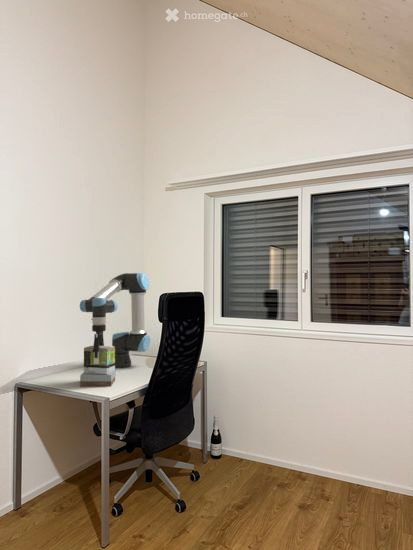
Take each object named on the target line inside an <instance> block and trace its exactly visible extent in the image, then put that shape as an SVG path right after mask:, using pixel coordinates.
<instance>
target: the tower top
mask: <svg viewBox="0 0 413 550" xmlns="http://www.w3.org/2000/svg"><path fill="white" fill-rule="evenodd" d="M116 374H117V373H116V369H115V371H114V372H112V373H109V374H93V373H84V371H83V372H82V373H81V374H80V375H79V377H80V379H79V380H80V381H79V383H80V382H85V381H112V379H113V378H114V377H115V378H116Z"/></svg>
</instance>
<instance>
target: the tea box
mask: <svg viewBox="0 0 413 550" xmlns="http://www.w3.org/2000/svg"><path fill="white" fill-rule="evenodd" d="M93 347H94V345H89V346H86V347H83V372H84V373H93V374H109V373H112V372H114V371H115V370H116V367H115V346H112V345H104V346H99V364H94V352H92V351H93Z"/></svg>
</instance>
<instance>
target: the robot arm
mask: <svg viewBox="0 0 413 550" xmlns="http://www.w3.org/2000/svg"><path fill="white" fill-rule="evenodd" d="M149 289H150V281H149V277H148V276H147V274H145V273H142V272H141V273H140V272H138V273H137V272H133V273H132V272H131V273H129V272H128V273H127V272H126V273H125V272H124V273H120V274H119V275H117V276H115V277H113V278H111V280H110V281H109V282H108V284H107V285H105V286H104V287H103V288H101V289H99V291H98V292H96V293H95V294H93V296H91V297H90V298H88V299H82V300H81V301H80V303H79V309H80V311H81V312H83V313H92V315H91V316H92V318H91V319H90V320H91V321H92V322H91V323H92V325H91V330H92V332H95V334H94V336H93V337H94V338H93V346H94V347H93V351H92V352H94V364H99V346H105V342H104V332H105V331H106V330H107V328H106V327H107V325H106V324H107V317H106V315H107V314H110V313H115V312H116V311H117V310H118V307H119V306H118V303H117V301H116V300H113V299H110V298H111V297H112V296H114V295H115V294H116V293H120V292H121V291H128V293H129V295H130V299H131V307H130V308H131V330H130V331H123V332H116V333H113V334H112V339H111V346H115V369H117V368H118V369H119V368H121V369H122V368H127V367H129V368H130V367H131V366H132V359H131V356H130V352H138V353H144V352H147V350H148V349H149V347H150V346H151V345H150V344H151V337H150V335H148V332H147V330H146V329H145V295H146V293H147V291H148V290H149Z"/></svg>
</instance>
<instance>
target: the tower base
mask: <svg viewBox="0 0 413 550" xmlns="http://www.w3.org/2000/svg"><path fill="white" fill-rule="evenodd" d="M115 381H116V376H115V377H114V378H113V379H112V381H85V382H80V381H79V387H82V388H84V387H86V388H87V387H92V388H93V387H112V386H113V384H114V383H115Z"/></svg>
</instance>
